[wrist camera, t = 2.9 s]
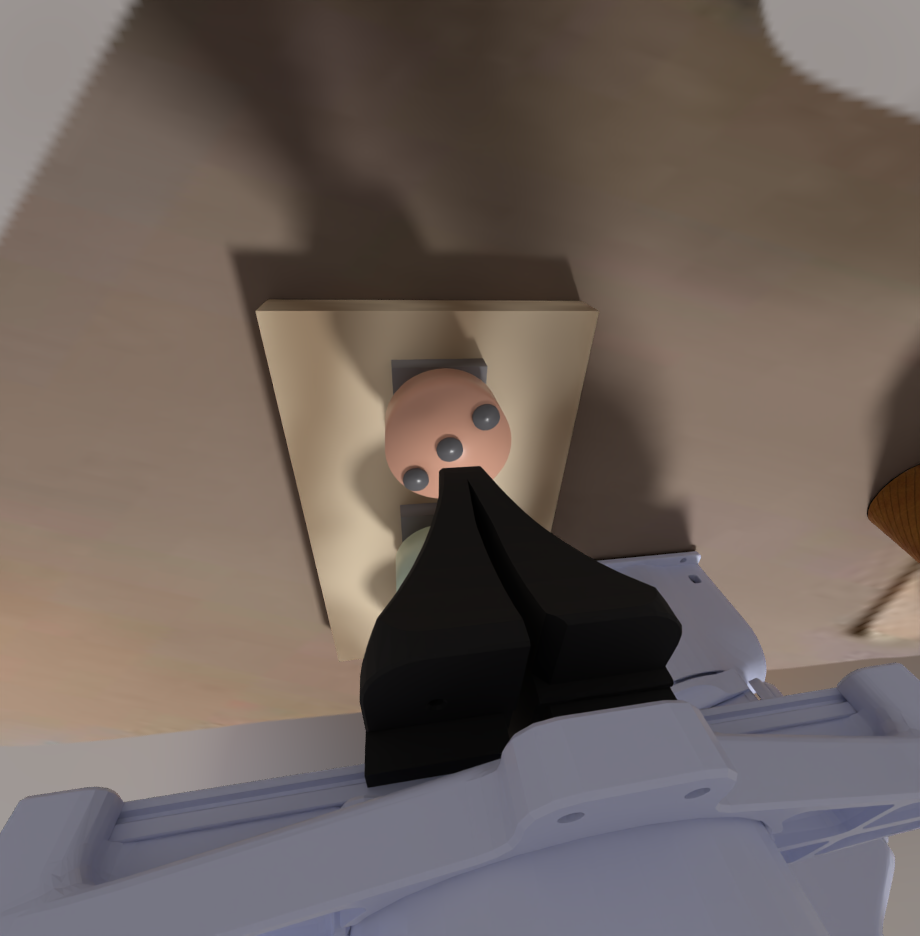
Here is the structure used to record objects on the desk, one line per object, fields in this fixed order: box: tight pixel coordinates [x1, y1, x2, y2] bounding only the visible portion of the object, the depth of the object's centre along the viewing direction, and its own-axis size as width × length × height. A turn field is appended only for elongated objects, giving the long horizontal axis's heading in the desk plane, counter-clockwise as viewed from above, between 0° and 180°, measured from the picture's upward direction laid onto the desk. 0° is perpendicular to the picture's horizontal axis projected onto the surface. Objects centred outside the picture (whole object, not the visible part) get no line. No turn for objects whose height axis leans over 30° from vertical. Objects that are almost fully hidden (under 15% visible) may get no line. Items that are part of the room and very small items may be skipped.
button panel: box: [256, 299, 599, 662], centre depth 24 cm, size 14×24×3 cm, turn 178°
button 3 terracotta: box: [385, 368, 511, 498], centre depth 16 cm, size 5×5×2 cm
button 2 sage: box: [396, 526, 430, 592], centre depth 20 cm, size 5×5×2 cm
